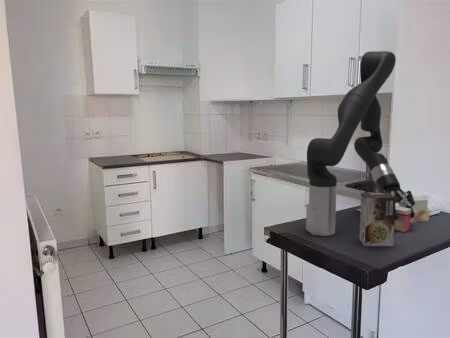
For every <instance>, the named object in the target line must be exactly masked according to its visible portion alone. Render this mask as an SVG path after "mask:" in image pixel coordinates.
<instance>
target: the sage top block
mask: <svg viewBox="0 0 450 338" xmlns="http://www.w3.org/2000/svg"><path fill="white" fill-rule="evenodd" d="M412 196H413V199H414V201H415V205H413V206H412V209H413V211H419V210H427V209H428V202H429V199H427V198H424V197H420V196H419V195H413V194H412ZM402 201H403V199H402V200H401V202H402ZM405 204H406V203H405ZM406 205H407V204H406ZM398 206H399V207H403V206H402V205H399V204H398Z"/></svg>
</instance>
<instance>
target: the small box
mask: <svg viewBox="0 0 450 338" xmlns="http://www.w3.org/2000/svg"><path fill="white" fill-rule="evenodd" d="M395 210H396V212H397V214H398V216H399V218H398V219H397V220H395V225H394V231H397V232H401V233H406V232H409V231H410V229H411V222H410V219H411V209H409V208H405V207H399V205H397V206H395Z"/></svg>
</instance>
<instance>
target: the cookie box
mask: <svg viewBox="0 0 450 338" xmlns="http://www.w3.org/2000/svg"><path fill="white" fill-rule="evenodd" d="M396 204H397V203H396V197H394V196H393V195H392V194H390V193H380V192H361V193H360V211H359V212H360V215H359V216H360V218H359V237H358V238H359V241H360V242H361V244H362V245H363V247H394V245H395V243H394V241H395V230H394V225H395V207H396Z"/></svg>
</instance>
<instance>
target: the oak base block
mask: <svg viewBox="0 0 450 338" xmlns="http://www.w3.org/2000/svg"><path fill="white" fill-rule="evenodd" d="M414 213H415V217H413V218H412V219H410V223H420V222H428V221H430V209H428V208H427V210H419V211H414Z"/></svg>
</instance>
